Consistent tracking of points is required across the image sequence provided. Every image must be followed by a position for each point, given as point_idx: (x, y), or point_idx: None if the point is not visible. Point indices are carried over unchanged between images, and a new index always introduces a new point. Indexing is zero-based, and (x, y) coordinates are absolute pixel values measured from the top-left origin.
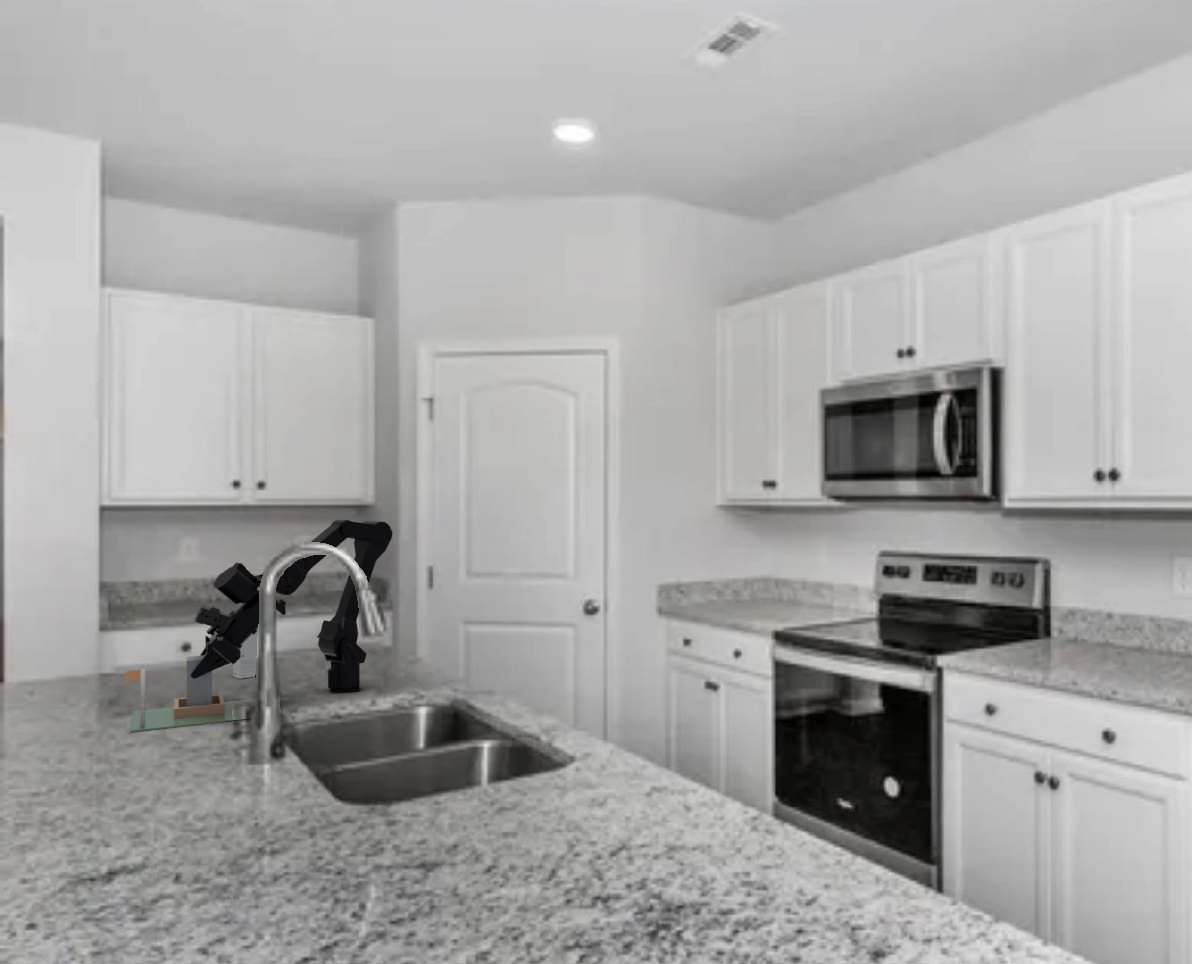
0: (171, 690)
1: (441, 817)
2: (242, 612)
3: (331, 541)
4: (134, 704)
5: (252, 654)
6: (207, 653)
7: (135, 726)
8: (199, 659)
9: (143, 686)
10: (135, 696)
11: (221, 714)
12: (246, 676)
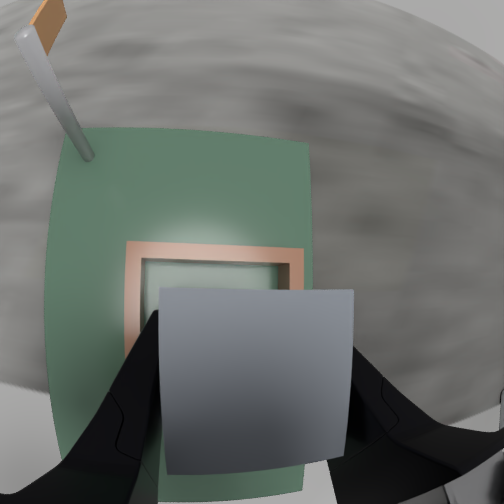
0: (481, 255)
1: None
2: None
3: None
4: (394, 160)
5: None
6: (61, 467)
7: (104, 137)
8: (171, 392)
9: (39, 87)
10: (456, 176)
11: None
12: (502, 405)
